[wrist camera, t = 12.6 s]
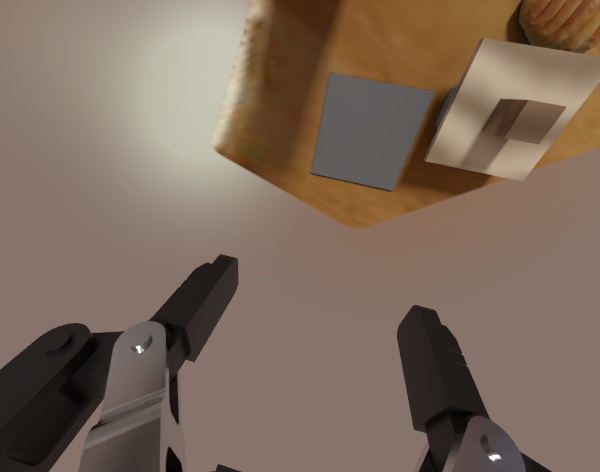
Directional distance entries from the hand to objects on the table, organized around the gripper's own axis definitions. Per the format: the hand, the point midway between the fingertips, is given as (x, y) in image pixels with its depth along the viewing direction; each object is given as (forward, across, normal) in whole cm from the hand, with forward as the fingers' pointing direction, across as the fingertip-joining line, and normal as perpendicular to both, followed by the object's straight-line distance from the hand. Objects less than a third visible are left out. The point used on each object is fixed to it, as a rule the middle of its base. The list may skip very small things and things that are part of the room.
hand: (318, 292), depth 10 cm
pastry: (+34, -21, -18) cm, 43 cm away
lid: (+28, -18, -8) cm, 34 cm away
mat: (+33, -3, -2) cm, 33 cm away
